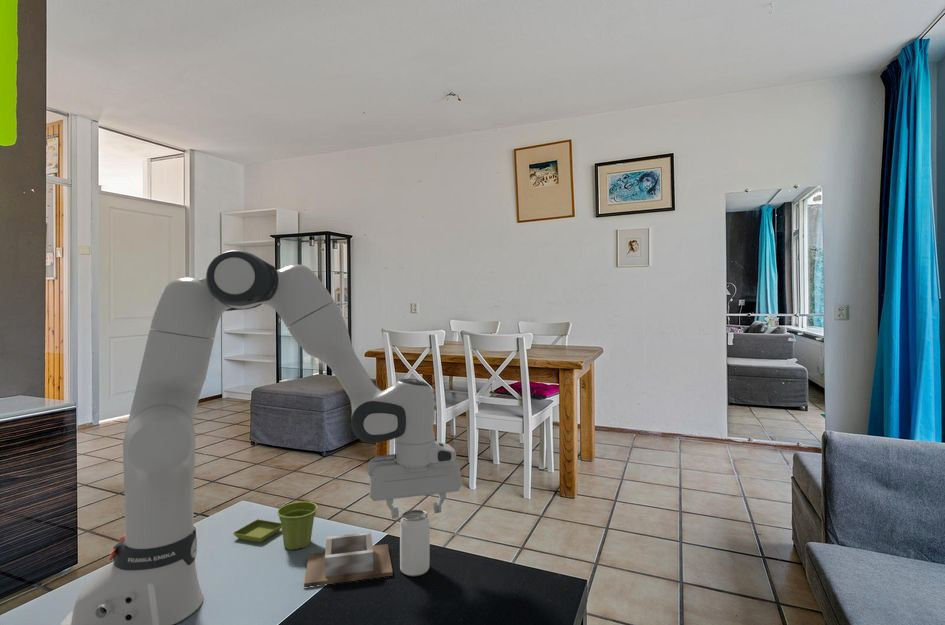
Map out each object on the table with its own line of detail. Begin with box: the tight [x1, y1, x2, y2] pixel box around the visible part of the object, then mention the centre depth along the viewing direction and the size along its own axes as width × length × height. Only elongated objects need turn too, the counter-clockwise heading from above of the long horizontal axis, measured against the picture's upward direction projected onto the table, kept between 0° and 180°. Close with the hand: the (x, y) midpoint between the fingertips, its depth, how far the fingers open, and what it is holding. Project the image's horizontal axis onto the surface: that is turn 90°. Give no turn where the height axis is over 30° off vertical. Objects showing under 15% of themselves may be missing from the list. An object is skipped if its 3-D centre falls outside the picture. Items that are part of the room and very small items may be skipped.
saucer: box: [232, 519, 282, 543], centre depth 124 cm, size 9×9×2 cm
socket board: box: [303, 531, 393, 588], centre depth 109 cm, size 18×13×6 cm
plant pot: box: [276, 501, 319, 550], centre depth 119 cm, size 9×9×9 cm
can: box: [399, 509, 431, 577], centre depth 108 cm, size 6×6×12 cm
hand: (416, 514), depth 108 cm, fingers open, 8 cm apart
